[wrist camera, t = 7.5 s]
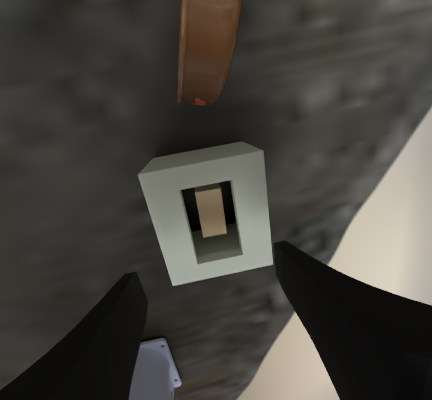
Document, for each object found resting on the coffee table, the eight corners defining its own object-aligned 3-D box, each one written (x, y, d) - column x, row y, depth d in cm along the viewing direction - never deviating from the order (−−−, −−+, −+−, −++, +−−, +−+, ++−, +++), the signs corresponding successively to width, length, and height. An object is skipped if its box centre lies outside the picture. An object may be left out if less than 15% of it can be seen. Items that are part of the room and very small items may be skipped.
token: (220, 213, 21) (226, 233, 18) (200, 216, 21) (203, 237, 18) (215, 175, 20) (220, 188, 16) (193, 178, 20) (194, 192, 16)
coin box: (252, 228, 22) (272, 264, 17) (177, 243, 22) (172, 286, 16) (242, 141, 19) (263, 150, 13) (153, 157, 19) (137, 174, 13)
